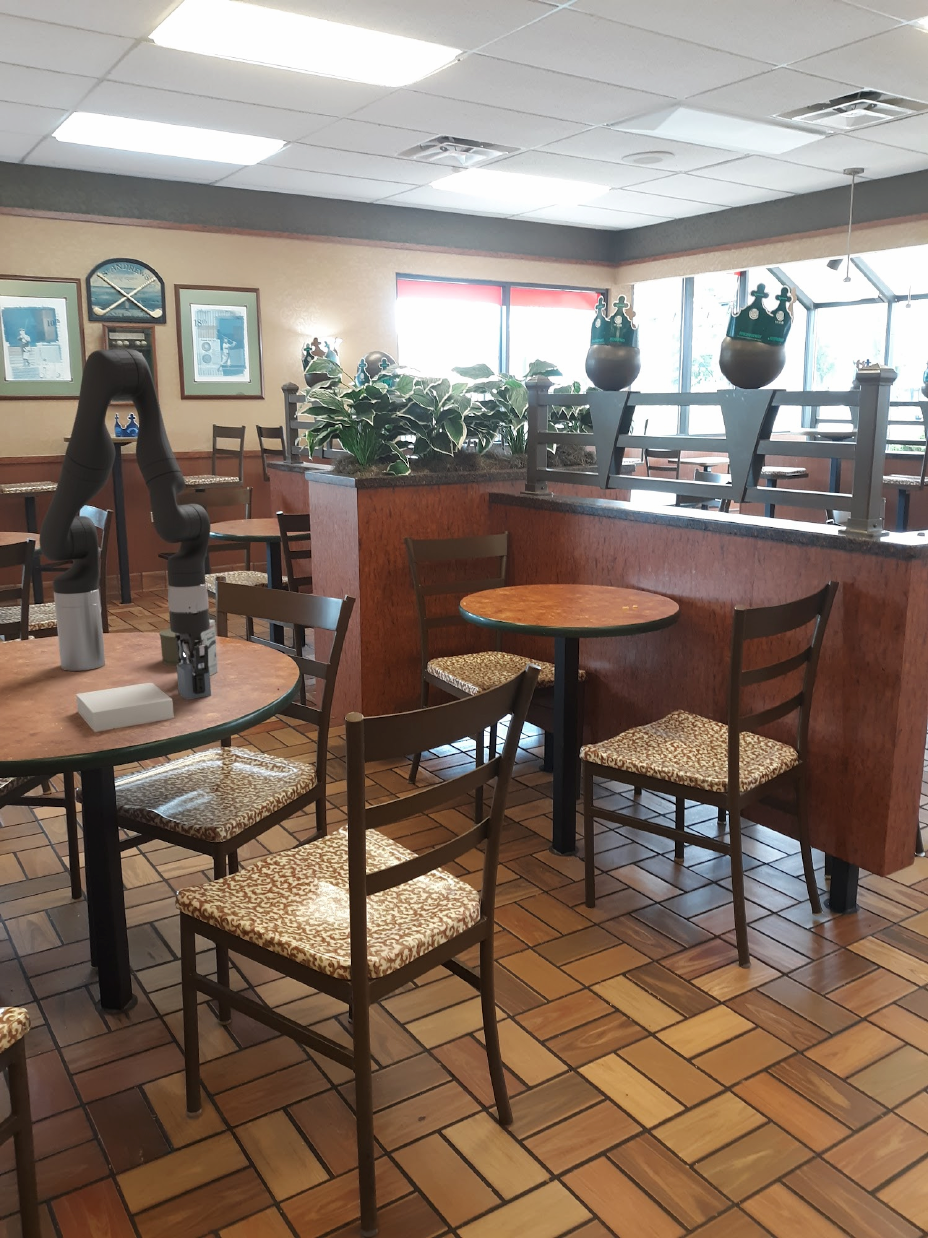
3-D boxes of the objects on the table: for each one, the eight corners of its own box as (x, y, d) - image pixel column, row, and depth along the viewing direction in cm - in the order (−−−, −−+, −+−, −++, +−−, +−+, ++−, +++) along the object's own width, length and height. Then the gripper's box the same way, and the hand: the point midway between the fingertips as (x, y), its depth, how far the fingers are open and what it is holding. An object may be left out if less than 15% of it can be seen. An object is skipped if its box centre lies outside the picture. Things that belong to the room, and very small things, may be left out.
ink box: (200, 682, 202) (196, 626, 199) (178, 681, 203) (174, 626, 200) (219, 671, 210) (215, 618, 207) (198, 670, 211) (194, 617, 208)
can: (159, 668, 213) (157, 638, 212) (163, 655, 225) (161, 626, 223) (215, 664, 216) (213, 634, 214) (216, 652, 227) (214, 623, 226)
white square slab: (78, 714, 182) (76, 694, 181) (153, 702, 190) (151, 682, 189) (94, 734, 171) (92, 712, 170) (173, 720, 178) (172, 699, 177)
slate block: (178, 693, 194) (176, 664, 192) (203, 689, 196) (201, 661, 195) (186, 699, 190) (184, 670, 188) (211, 695, 192) (209, 666, 191)
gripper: (159, 603, 193) (165, 684, 197) (180, 615, 181) (186, 701, 185) (196, 599, 197) (201, 678, 201) (219, 610, 185) (224, 695, 189)
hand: (194, 689), depth 193 cm, fingers open, 5 cm apart
